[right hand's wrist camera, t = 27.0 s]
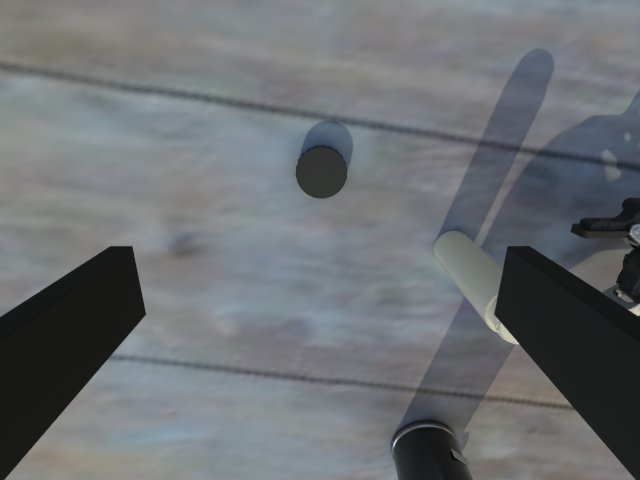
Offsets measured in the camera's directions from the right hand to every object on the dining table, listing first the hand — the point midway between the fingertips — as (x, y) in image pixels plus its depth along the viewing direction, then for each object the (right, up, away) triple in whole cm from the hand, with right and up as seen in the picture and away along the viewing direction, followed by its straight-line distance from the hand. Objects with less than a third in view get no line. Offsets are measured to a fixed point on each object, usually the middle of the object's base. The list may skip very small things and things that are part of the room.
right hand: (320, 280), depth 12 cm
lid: (0, +8, +23) cm, 24 cm away
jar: (+15, +1, +27) cm, 31 cm away
